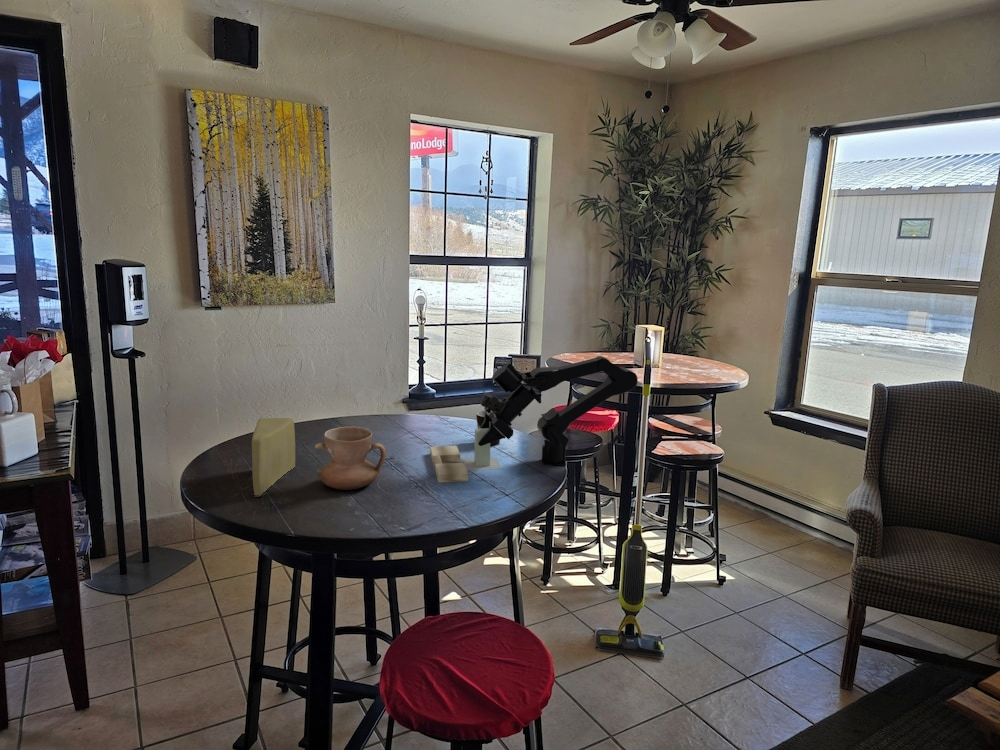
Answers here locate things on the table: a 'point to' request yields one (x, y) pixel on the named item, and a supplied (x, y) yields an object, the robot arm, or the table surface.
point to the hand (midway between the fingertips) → (477, 441)
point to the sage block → (481, 449)
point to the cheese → (272, 451)
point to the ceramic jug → (349, 458)
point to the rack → (448, 464)
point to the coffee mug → (479, 422)
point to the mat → (471, 466)
